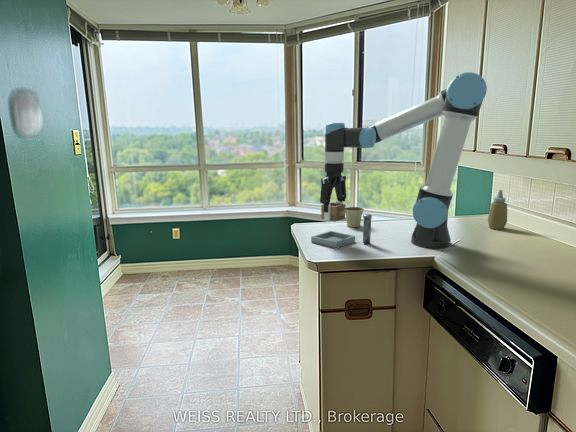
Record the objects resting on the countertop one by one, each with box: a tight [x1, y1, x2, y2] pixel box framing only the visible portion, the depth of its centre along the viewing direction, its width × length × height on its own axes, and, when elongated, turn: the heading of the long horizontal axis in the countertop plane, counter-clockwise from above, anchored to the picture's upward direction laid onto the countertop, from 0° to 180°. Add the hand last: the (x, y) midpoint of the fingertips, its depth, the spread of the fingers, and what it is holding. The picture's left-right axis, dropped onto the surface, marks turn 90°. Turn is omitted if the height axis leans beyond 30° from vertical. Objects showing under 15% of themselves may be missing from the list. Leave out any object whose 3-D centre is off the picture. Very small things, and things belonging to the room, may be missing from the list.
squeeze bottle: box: [487, 189, 508, 231], centre depth 178 cm, size 8×8×18 cm
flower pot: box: [345, 206, 365, 228], centre depth 187 cm, size 9×9×9 cm
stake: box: [362, 213, 373, 245], centre depth 158 cm, size 3×3×12 cm
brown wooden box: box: [320, 201, 346, 223], centre depth 159 cm, size 9×7×6 cm
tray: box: [310, 230, 356, 249], centre depth 162 cm, size 13×13×2 cm
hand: (333, 218), depth 160 cm, fingers closed on brown wooden box, 7 cm apart
